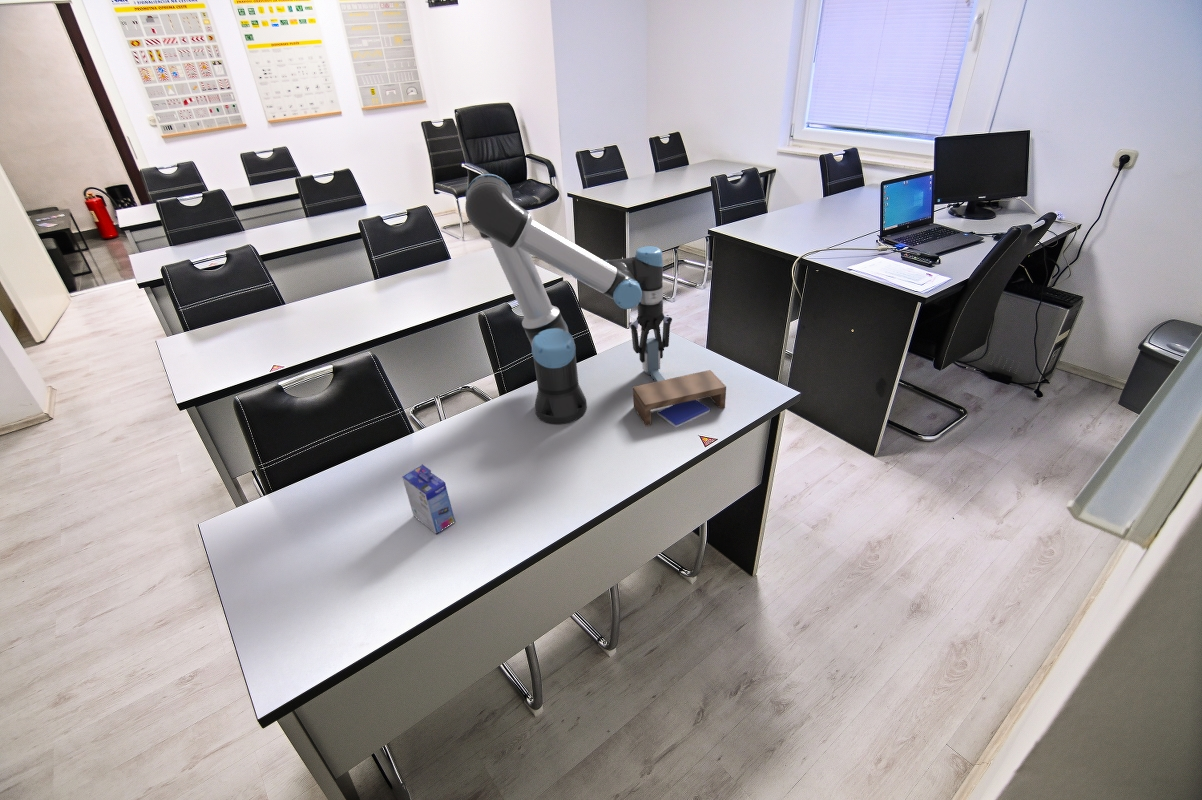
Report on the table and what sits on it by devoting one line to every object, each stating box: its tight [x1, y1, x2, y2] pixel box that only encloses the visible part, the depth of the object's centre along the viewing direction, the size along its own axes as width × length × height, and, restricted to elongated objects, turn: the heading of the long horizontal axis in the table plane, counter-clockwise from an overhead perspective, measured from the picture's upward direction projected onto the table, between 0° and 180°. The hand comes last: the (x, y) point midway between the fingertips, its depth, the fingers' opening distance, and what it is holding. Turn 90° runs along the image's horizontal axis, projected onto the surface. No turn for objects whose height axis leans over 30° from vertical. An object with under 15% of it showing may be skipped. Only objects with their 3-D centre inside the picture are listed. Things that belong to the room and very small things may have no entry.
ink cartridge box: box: [401, 464, 456, 534], centre depth 127 cm, size 10×6×14 cm, turn 48°
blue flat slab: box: [657, 399, 711, 428], centre depth 160 cm, size 2×8×12 cm
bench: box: [632, 369, 727, 427], centre depth 160 cm, size 24×10×7 cm, turn 107°
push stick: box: [645, 336, 666, 382], centre depth 171 cm, size 4×19×11 cm, turn 17°
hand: (651, 368), depth 179 cm, fingers closed on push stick, 3 cm apart
